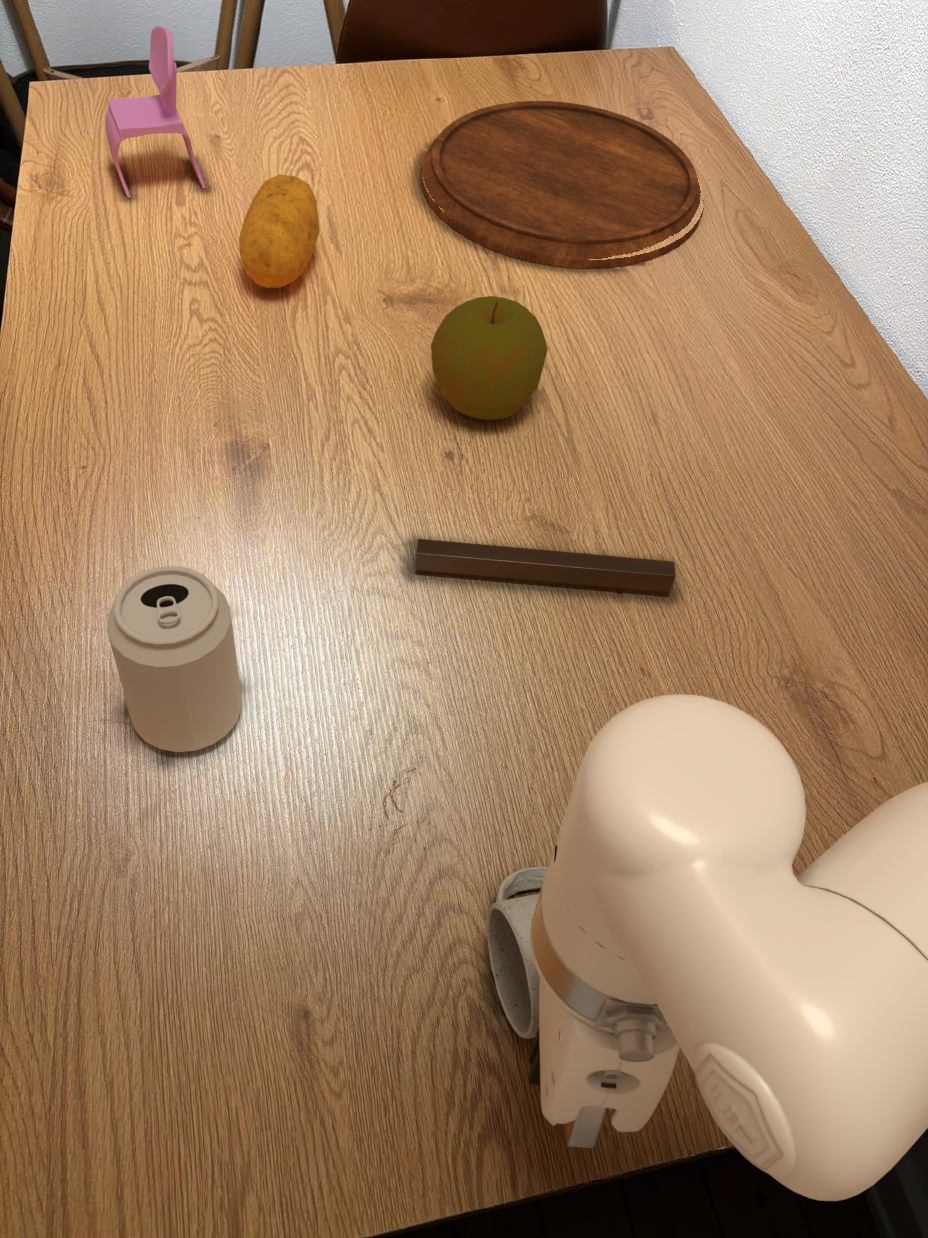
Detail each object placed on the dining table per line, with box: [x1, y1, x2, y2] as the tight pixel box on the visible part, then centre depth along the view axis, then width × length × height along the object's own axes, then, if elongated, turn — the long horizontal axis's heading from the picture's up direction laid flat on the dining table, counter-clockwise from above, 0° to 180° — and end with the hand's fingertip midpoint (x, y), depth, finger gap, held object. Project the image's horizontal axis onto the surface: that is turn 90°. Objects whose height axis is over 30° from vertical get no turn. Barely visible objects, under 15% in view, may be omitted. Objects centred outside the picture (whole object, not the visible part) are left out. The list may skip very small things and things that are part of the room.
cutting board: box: [419, 100, 705, 269], centre depth 124 cm, size 32×32×2 cm
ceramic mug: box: [486, 866, 548, 1040], centre depth 65 cm, size 11×8×8 cm
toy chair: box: [105, 26, 207, 199], centre depth 114 cm, size 8×9×15 cm
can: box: [106, 565, 243, 753], centre depth 72 cm, size 8×8×12 cm
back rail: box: [414, 538, 677, 597], centre depth 87 cm, size 3×20×2 cm, turn 87°
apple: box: [430, 295, 548, 421], centre depth 96 cm, size 10×10×11 cm
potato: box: [238, 174, 320, 289], centre depth 108 cm, size 7×14×7 cm, turn 174°
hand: (558, 1071), depth 59 cm, fingers closed
